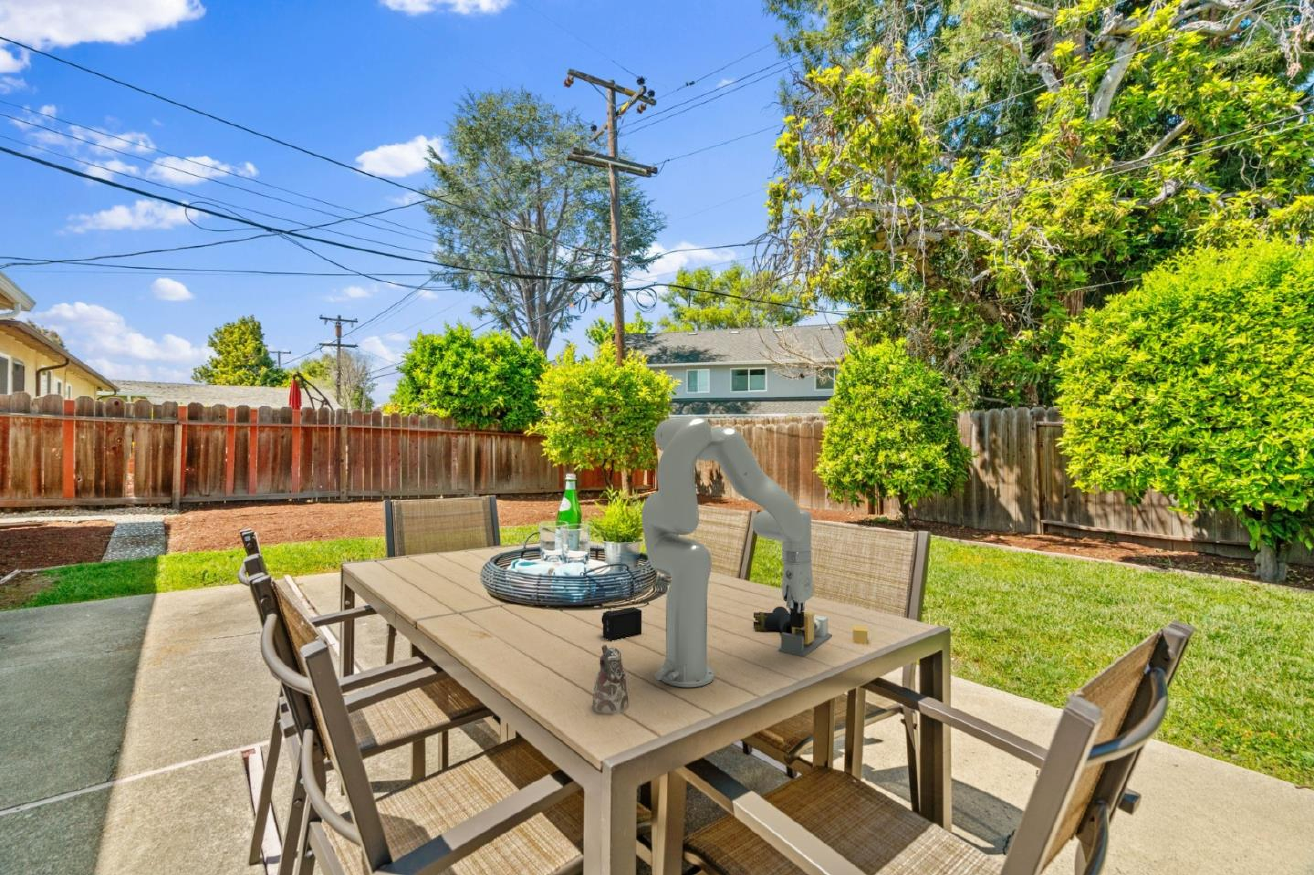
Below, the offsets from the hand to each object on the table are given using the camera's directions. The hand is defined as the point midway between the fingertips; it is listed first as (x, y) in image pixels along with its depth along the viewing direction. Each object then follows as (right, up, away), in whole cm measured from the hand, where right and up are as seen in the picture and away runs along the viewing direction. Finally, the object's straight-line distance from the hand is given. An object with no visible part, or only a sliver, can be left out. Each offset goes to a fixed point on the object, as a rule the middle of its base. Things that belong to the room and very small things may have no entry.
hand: (797, 626), depth 153 cm
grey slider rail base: (+4, -6, +5) cm, 9 cm away
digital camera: (-47, -7, +12) cm, 49 cm away
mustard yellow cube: (+19, -7, +7) cm, 21 cm away
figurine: (-46, -6, -34) cm, 58 cm away
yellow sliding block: (+2, -5, +3) cm, 6 cm away
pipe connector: (-3, -7, +17) cm, 19 cm away
